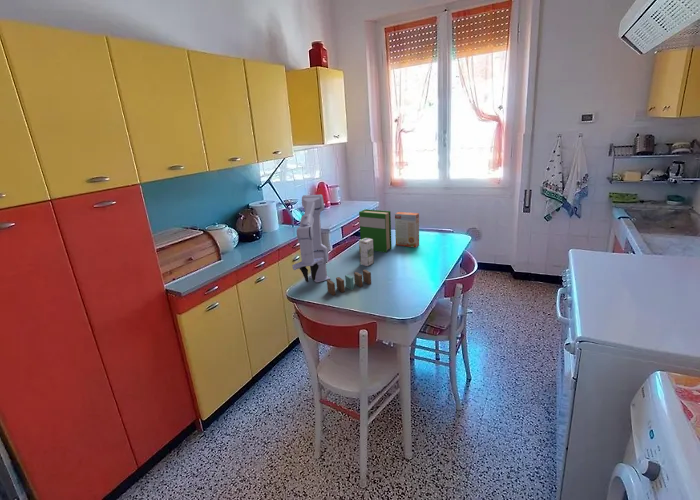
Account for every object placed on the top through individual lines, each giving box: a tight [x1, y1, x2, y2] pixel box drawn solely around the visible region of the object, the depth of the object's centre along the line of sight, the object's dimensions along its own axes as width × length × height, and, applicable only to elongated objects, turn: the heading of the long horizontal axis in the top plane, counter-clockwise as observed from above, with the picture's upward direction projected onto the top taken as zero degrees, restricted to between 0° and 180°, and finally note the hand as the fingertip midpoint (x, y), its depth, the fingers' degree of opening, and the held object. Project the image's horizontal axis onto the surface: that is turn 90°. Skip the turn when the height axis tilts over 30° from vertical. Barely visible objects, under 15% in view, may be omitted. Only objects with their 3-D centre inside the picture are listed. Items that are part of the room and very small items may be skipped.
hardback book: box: [358, 208, 393, 253], centre depth 225 cm, size 18×7×24 cm, turn 58°
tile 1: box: [326, 279, 337, 297], centre depth 173 cm, size 2×5×6 cm, turn 29°
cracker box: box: [394, 211, 420, 248], centre depth 228 cm, size 14×6×21 cm, turn 58°
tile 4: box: [362, 269, 372, 285], centre depth 182 cm, size 2×5×6 cm, turn 29°
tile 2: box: [335, 277, 346, 294], centre depth 175 cm, size 2×5×6 cm, turn 29°
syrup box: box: [358, 238, 375, 267], centre depth 203 cm, size 6×6×14 cm
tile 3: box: [353, 271, 364, 288], centre depth 179 cm, size 2×5×6 cm, turn 29°
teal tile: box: [344, 274, 355, 291], centre depth 177 cm, size 2×5×6 cm, turn 30°
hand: (310, 280), depth 166 cm, fingers open, 3 cm apart
